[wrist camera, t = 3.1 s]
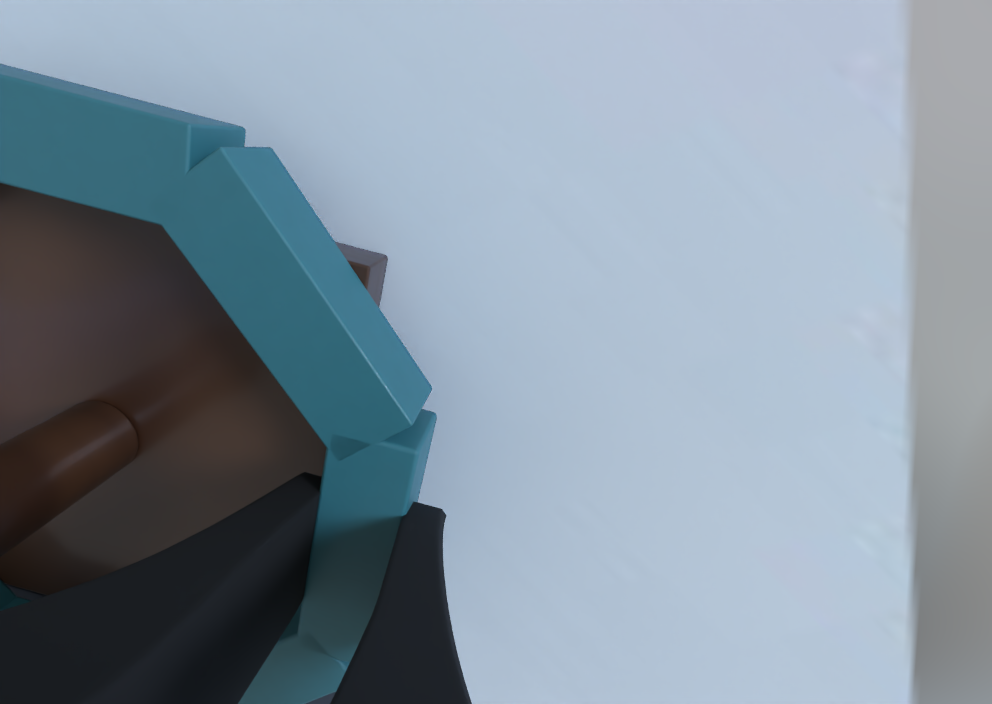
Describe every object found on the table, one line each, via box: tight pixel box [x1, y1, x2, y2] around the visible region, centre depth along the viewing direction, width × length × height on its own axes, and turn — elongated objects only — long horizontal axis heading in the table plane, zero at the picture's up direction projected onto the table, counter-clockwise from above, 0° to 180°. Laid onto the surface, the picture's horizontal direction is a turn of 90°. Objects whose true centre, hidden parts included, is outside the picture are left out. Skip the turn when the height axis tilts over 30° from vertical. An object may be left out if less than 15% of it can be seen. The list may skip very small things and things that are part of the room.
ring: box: [0, 64, 437, 704], centre depth 11 cm, size 14×14×2 cm
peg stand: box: [0, 183, 388, 595], centre depth 10 cm, size 10×10×7 cm
